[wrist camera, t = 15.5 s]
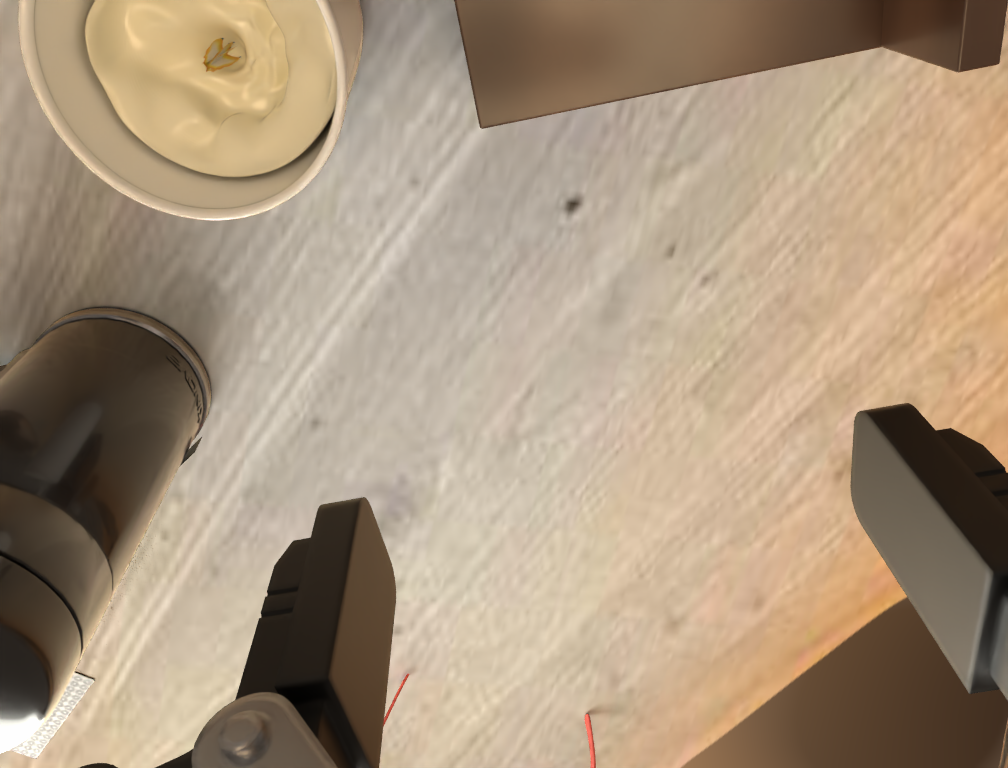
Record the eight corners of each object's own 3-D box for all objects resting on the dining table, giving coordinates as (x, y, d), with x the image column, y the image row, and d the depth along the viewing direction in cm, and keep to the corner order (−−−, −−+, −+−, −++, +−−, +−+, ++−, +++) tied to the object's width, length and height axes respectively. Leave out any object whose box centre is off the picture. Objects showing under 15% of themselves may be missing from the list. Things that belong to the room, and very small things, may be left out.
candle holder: (127, 71, 35) (-11, 139, 25) (190, -163, 31) (53, -198, 21) (333, 170, 38) (284, 267, 28) (417, -33, 34) (396, -6, 23)
